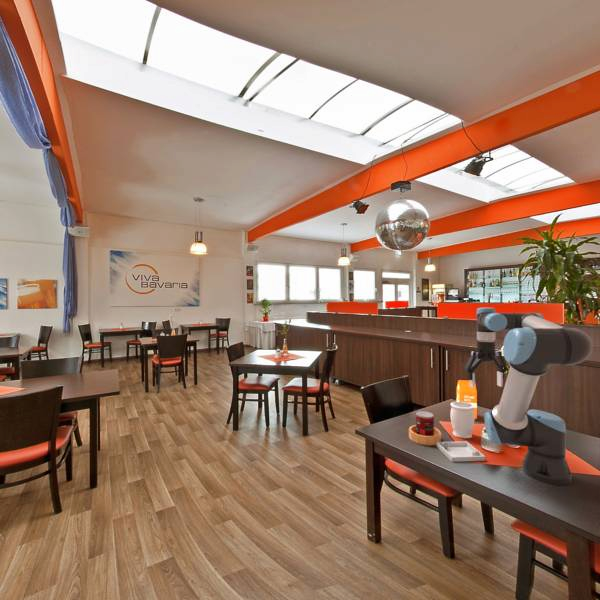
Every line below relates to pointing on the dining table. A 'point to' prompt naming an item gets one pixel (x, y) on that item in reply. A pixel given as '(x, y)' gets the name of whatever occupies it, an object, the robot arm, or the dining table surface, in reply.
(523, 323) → the robot arm
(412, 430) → the bowl
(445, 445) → the pebble
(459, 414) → the jar
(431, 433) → the canned food
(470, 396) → the orange juice
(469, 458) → the tray
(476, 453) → the pebble
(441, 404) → the dining table surface
